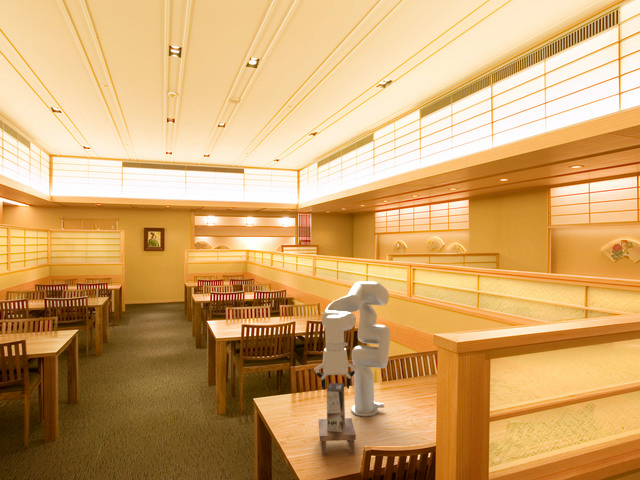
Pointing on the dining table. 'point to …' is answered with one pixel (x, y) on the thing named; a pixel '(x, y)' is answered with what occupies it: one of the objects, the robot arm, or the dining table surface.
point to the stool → (337, 435)
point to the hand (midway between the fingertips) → (336, 387)
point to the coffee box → (335, 407)
